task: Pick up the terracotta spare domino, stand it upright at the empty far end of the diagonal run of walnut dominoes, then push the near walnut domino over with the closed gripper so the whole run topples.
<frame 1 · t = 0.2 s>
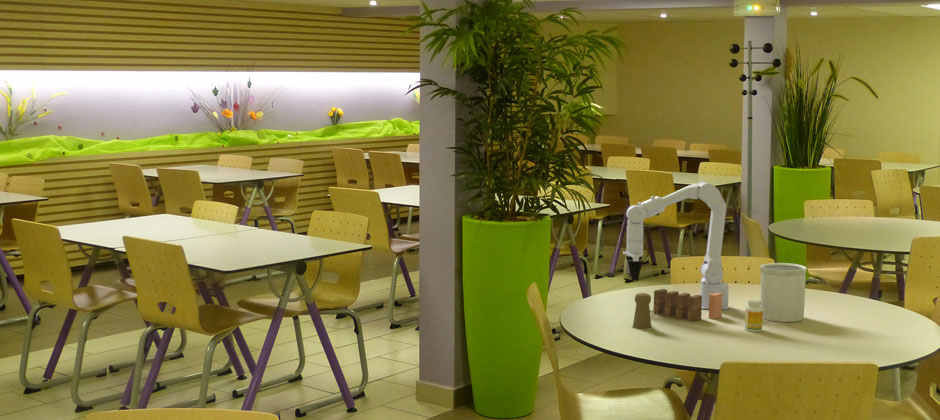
hand: (634, 278, 347), 10 cm above the table, tool pointing down, fingers open, 7 cm apart
utensil holder: (781, 318, 332), on the table
domino 4: (660, 313, 338), on the table
spare domino: (715, 317, 332), on the table
domino 3: (671, 315, 335), on the table
domino 1: (694, 319, 328), on the table
supplement bottle: (753, 330, 315), on the table
domino 2: (682, 317, 331), on the table
cork: (642, 327, 318), on the table
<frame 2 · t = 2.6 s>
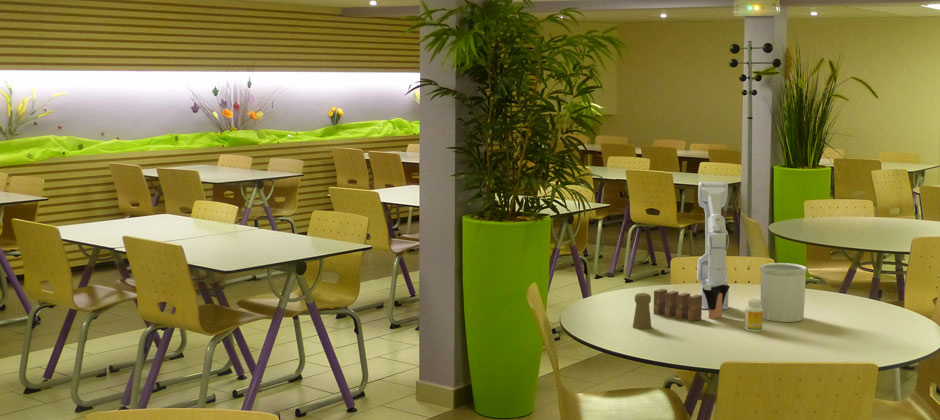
hand: (715, 307, 332), 3 cm above the table, tool pointing down, fingers closed on spare domino, 5 cm apart
spare domino: (715, 317, 332), on the table, touching gripper
everything else where it was.
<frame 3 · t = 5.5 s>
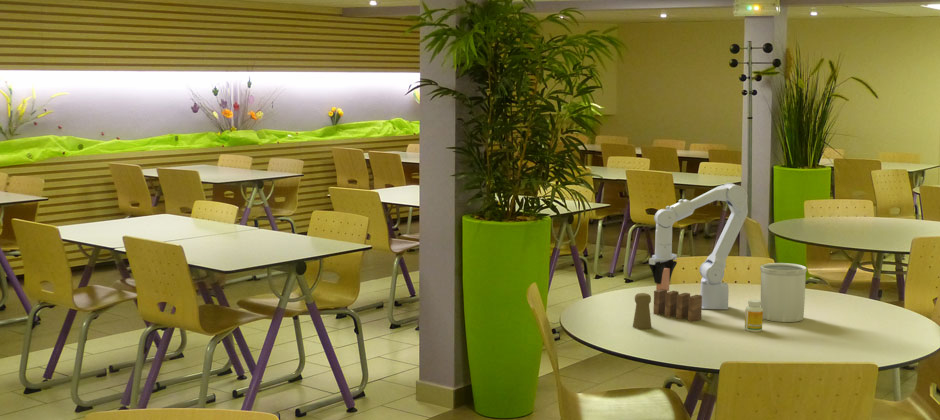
hand: (662, 282, 345), 9 cm above the table, tool pointing down, fingers closed on spare domino, 5 cm apart
spare domino: (662, 291, 346), point 6 cm above the table, touching gripper
everything else where it was.
when the fingers open (4 cm above the table, at t = 8.5 s): spare domino stays where it is, on the table.
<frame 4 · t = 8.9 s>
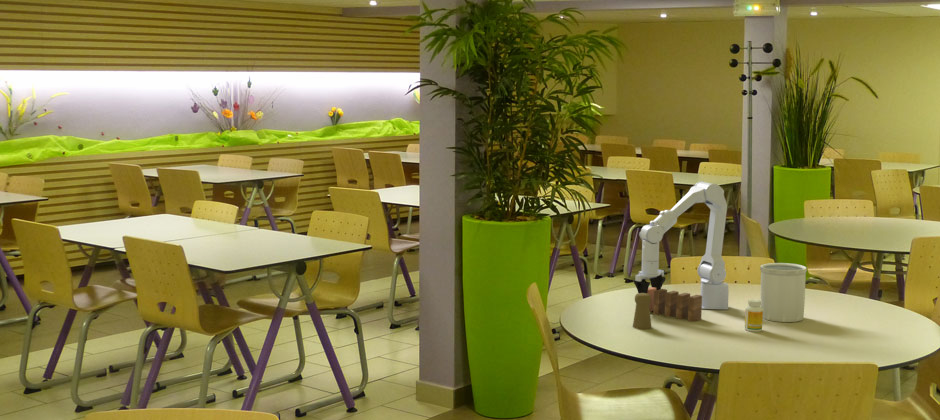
hand: (649, 299, 340), 4 cm above the table, tool pointing down, fingers open, 7 cm apart
spare domino: (649, 311, 341), on the table
everything else where it was.
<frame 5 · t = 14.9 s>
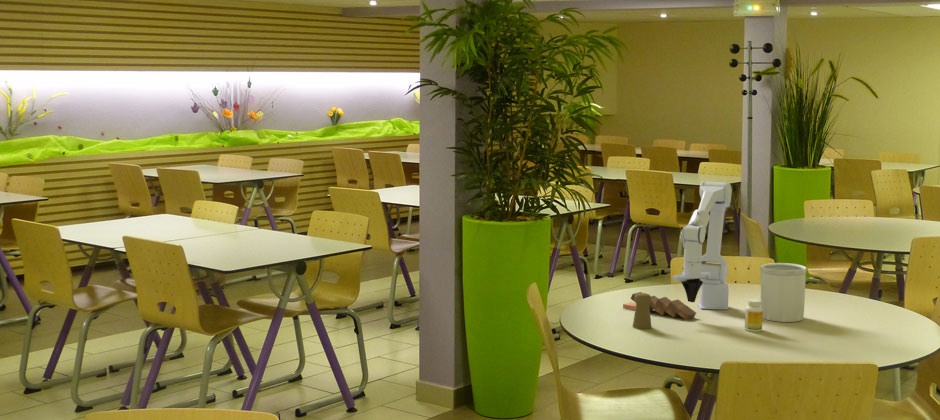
hand: (691, 301, 329), 6 cm above the table, tool pointing down, fingers closed
domino 4: (653, 307, 339), point 1 cm above the table, tilted 66°, touching spare domino
spare domino: (646, 309, 341), on the table, tilted 90°, touching domino 4
domino 3: (667, 312, 335), point 1 cm above the table, tilted 64°, touching domino 2
domino 1: (691, 316, 329), point 1 cm above the table, tilted 64°
domino 2: (678, 314, 333), point 1 cm above the table, tilted 63°, touching domino 3
everything else where it was.
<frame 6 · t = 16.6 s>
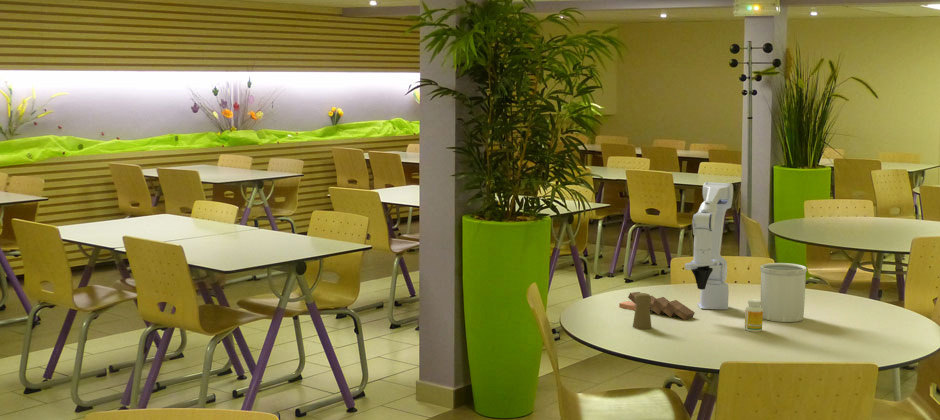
hand: (701, 288, 330), 10 cm above the table, tool pointing down, fingers closed
domino 4: (649, 307, 341), point 1 cm above the table, tilted 66°, touching spare domino
spare domino: (642, 308, 343), on the table, tilted 90°, touching domino 4
domino 3: (664, 311, 336), point 1 cm above the table, tilted 67°, touching domino 2
domino 1: (689, 316, 329), point 1 cm above the table, tilted 67°, touching domino 2
domino 2: (675, 313, 333), point 1 cm above the table, tilted 65°, touching domino 1, domino 3
everything else where it was.
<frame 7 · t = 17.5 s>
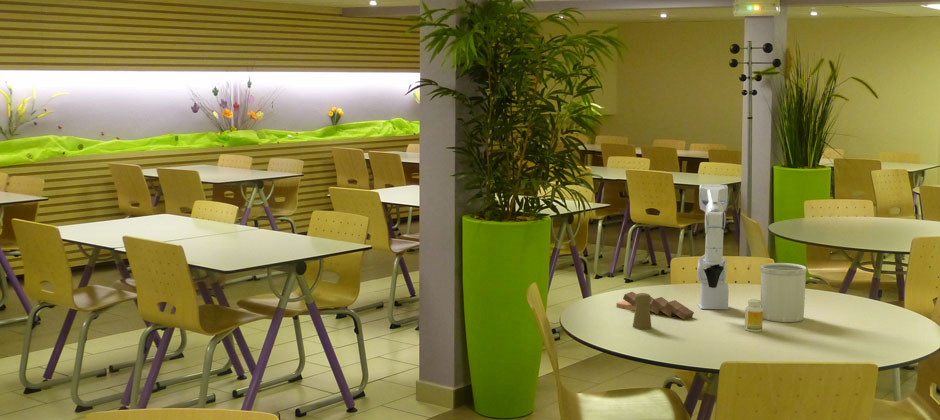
hand: (712, 287, 332), 10 cm above the table, tool pointing down, fingers closed
domino 4: (646, 306, 341), point 1 cm above the table, tilted 68°, touching spare domino
spare domino: (639, 308, 343), on the table, tilted 90°, touching domino 4
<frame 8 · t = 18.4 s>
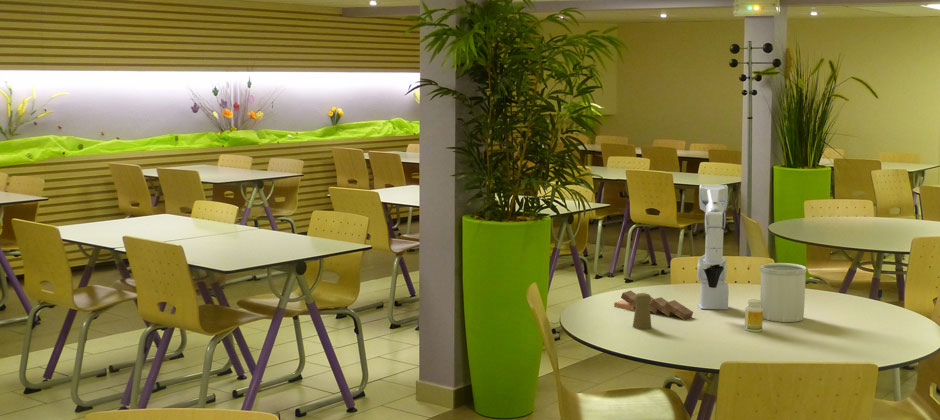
hand: (712, 287, 332), 10 cm above the table, tool pointing down, fingers closed
domino 4: (643, 305, 342), point 1 cm above the table, tilted 68°, touching domino 3, spare domino
domino 3: (660, 310, 338), point 1 cm above the table, tilted 68°, touching domino 2, domino 4
at the end: spare domino tilted 90°; spare domino inside the target area (2.9 cm from its centre), on the table; domino 1 tilted 69° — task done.
